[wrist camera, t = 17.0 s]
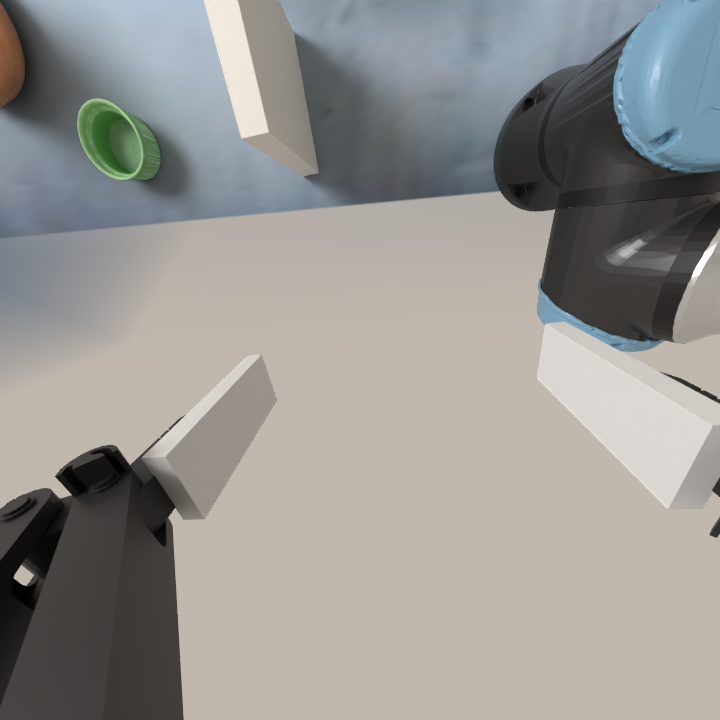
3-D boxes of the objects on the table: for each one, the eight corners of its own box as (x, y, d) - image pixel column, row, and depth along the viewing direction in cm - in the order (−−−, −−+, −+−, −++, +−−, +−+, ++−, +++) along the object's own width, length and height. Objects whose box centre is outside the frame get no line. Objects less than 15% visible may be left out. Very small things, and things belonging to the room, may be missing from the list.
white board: (293, 32, 34) (195, -180, 16) (319, 173, 41) (268, 132, 23) (275, 37, 34) (158, -166, 17) (303, 176, 41) (241, 138, 23)
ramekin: (101, 101, 39) (69, 88, 35) (163, 122, 39) (139, 110, 35) (110, 174, 43) (83, 169, 39) (167, 191, 43) (145, 188, 39)
